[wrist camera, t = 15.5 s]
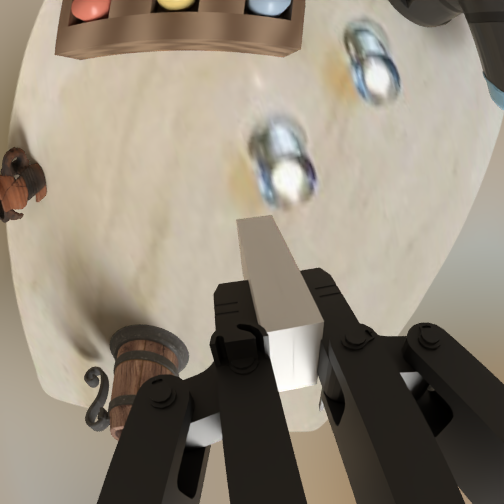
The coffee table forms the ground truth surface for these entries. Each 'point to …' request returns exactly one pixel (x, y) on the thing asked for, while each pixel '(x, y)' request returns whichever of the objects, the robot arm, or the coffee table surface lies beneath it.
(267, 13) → the slate button
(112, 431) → the tankard
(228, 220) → the coffee table surface
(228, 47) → the console
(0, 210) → the pottery mug
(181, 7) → the mustard button
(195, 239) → the coffee table surface
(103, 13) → the red button
